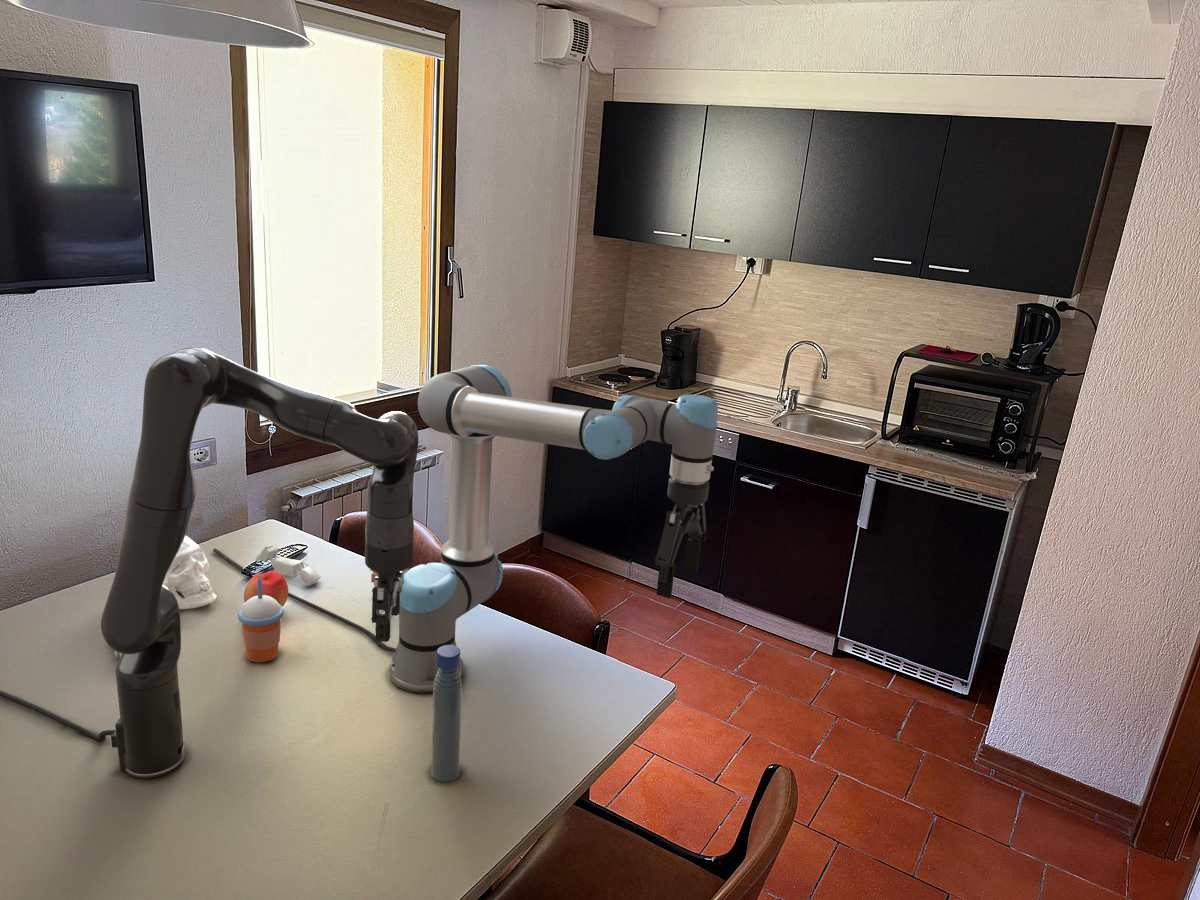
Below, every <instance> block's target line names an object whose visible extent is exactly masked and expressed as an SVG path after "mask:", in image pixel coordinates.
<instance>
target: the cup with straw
mask: <svg viewBox="0 0 1200 900" xmlns="http://www.w3.org/2000/svg"><path fill="white" fill-rule="evenodd" d="M257 587H258V596H254V597H252V598H250V599H249V600H248V601H246V602H245V601H244V603H243V605H242V606H241V608H239V610H238V612H237V619H238V621H239V622H240V623H241V631H242V632H241V633H242V638H243V645H244V646H245V651H246V655H247V656H246V657H247V658H248V660H249V661H251V662H254V663H264V662H269V661H272V660H274V659H275V658H276V657H277V656H278V654H279V644H280V641H281V630H282V620H281V619H282V618H283V616H284V613H285V609H284V606H283V607H282V606H281V605H280V604H279V603H278V602H277V601H276V600H275V599H274V598H272V597H270V596H267V595H262V579H261V578H259V579H257Z"/></svg>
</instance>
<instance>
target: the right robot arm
mask: <svg viewBox="0 0 1200 900" xmlns="http://www.w3.org/2000/svg"><path fill="white" fill-rule="evenodd" d="M510 385H511V384H510V383H509V381H508V379H507V378H506V377H505V376H504V374H503V373H502V372H501V371H500V370H499V369H497V368H496V367H494V366H492V365H488V364H478V365H468V366H465V367H463V368H460V369H459V368H458V369H455V370H452V371H451V370H450V371H447V372H442V373H439V374H436V375H434V376H432V377H430V378H429V379H428V380H427V381H426V382H425V383H424V384H423V385H422V387H421V388H420V390H419V392H418V393H419V394H418V396H417V410H418V412H419V416H420V417H421V419H422V421H423V422H424V423H425V424H426V426H428V427H429V428H430V429H432V430H433V431H436V432H438V433H443V434H446V435H448V436H449V437H450V471H449V472H450V474H449V504H448V505H449V507H448V508H449V510H448V539H447V541H446V542H445V543H444V544H443V545H442V546H441V547H440V562H428V563H427V564H423V563H422V564H418V565H416V566H414V567H412V568H410V569H409V570H408V571H407V572H406V573H405V574H404V576H403V581H404V584H403V586H402V592H401V594H400V612H399V615H398V643H397V645H396V648H395V647H393V646H388V645H386V644H384V642H380V641H376V634H374V633H373V632H371V631H370V630H368V629H367V628H365V627H363V626H361V625H360V624H357V623H355V622H353V621H351V620H349V619H346V618H344V617H342V616H340V615H338V614H336V613H334V612H331V611H330V610H327V609H325V608H323V607H321V606H319V605H316V604H314V603H312V602H310V601H309V600H305V599H303V598H301V597H299V596H297V595H296V594H293V593H290V592H289V591H288V598H291V599H292V600H295V601H297V602H299V603H301V604H303V605H304V606H307V607H310V608H312V609H314V610H316V611H318V612H320V613H323V614H325V615H327V616H329V617H331V618H333V619H335V620H338V621H339V622H342V623H343V624H346V625H348V626H350V627H352V628H354V629H356V630H358V631H360V632H361V633H364V634H365V635H367V636H368V637H369V638H370V639H372V640H373V641H374V643H375V644H377V645H378V646H379V647H380V648H382V649H383V650H385V651H387V652H391V653H393V656H392V659H391V660H390V664H389V679H390V681H391V682H392V683H393V684H394V685H395V686H396V687H398V688H399V689H401V690H404V691H407V692H410V693H416V694H430V693H431V694H433V684H434V680H435V678H436V675H437V672H438V671H439V667H438V666H437V650H438V648H439V647H441V646H444V645H454V646H457V642H456V622H457V620H458V619H459V618H461V617H462V616H464V615H465V614H467V613H469V612H470V611H471V610H472V609H474V608H476V607H477V606H479V605H480V604H482V603H484V602H486V601H487V600H489V599H490V598H491V597H492V596H493V595H494V594H495V593H496V592H497V591H498V590H499V588H500V587H501V585H502V581H503V578H504V569H503V564H502V561H501V560H499V559H498V558H499V556H498V555H497V554H498V553H496V551H495V547H494V545H492V544H491V542H489V524H490V505H491V503H490V501H491V499H490V498H491V482H492V481H491V480H492V458H493V457H492V456H493V440H494V439H495V438H496V437H501V438H506V439H513V440H521V441H526V442H533V443H539V444H546V445H552V446H559V447H565V448H571V449H578V450H584V451H587V452H588V453H589V454H590V455H592V456H593V457H595V458H596V459H599V460H603V461H605V460H606V461H607V460H611V459H614V458H616V459H617V458H618V457H621V456H623V455H624V454H626V453H627V452H629V451H630V450H633V449H634V448H636V447H637V446H640V445H641V444H644V443H645V442H647V441H651V442H658V443H661V444H665V445H666V444H667V445H672V447H671V448H672V449H671V455H670V456H671V457H670V466H669V472H668V474H669V476H670V477H669V478H668V487H667V497H668V498H669V499H670V500H671V501H672V502H674V504H675V505H674V507H673V508H672V511H667V512H666V515H665V522H664V527H663V531H662V534H661V538H660V542H659V545H658V550H657V553H656V557H655V558H654V564H655V565H657V566H659V567H658V574H657V575H658V576H657V584H656V596H659V597H662V598H665V599H671V598H672V595H673V585H674V578H675V577H674V576H675V567H676V565H675V564H674V563H675V560H676V557H677V554H678V551H679V549H680V545H681V542H682V539H683V537H684V535H687V534H688V538H686V544H685V551H684V552H685V553H684V559H683V560H684V562H683V570H685V571H689V572H692V573H697V572H698V570H699V563H700V554H701V546H702V545H701V544H702V541H703V542H706V540H707V535H706V533H707V519H706V505H705V503H706V502H707V501H708V498H709V491H710V482H709V480H710V479H711V472H713V471H714V469H715V467H714V466H713V465H712V463H713V458H714V447H715V442H716V434H717V428H718V413H719V412H718V411H719V406H718V403H717V401H716V400H715V399H714V398H712V397H709V396H706V395H701V394H682V395H680V396H679V397H678V398H677V400H676V401H677V402H676V403H672V402H667V401H663V400H657V399H651V398H647V397H643V396H641V395H630V394H629V395H628V394H623V395H621V396H619V397H618V398H617V400H616V401H615V402H614V404H613V406H612V409H601V408H593V407H588V406H587V407H586V406H580V405H572V404H565V403H558V402H557V403H556V402H552V401H551V402H550V401H542V400H535V399H527V398H520V397H513V395H512V388H511V386H510ZM212 551H213V553H215V554H216V555H218V556H219V557H220V558H222V559H223V560H225V561H226V562H228V563H229V564H230V565H232V567H235V568H236V569H237V570H239V571H241V572H242V573H243V574H246V573H245V572H244V570H243V568H244V567H243V566H242V565H240V564H239V563H237V562H236V561H234V560H233V559H231V558H229V556H227V555H225V553H223V552H221V551H220V550H219V549H217V548H213V550H212ZM225 557H226V558H225ZM244 569H246V568H244ZM246 575H247V574H246ZM249 577H251V578H252V577H254V576H249ZM457 647H458V646H457ZM457 668H458V671H459V674H460V678H461V679H462V676H463V672H464V662H463V660H462V657H461V656H460V665H459V666H458V667H457Z"/></svg>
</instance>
